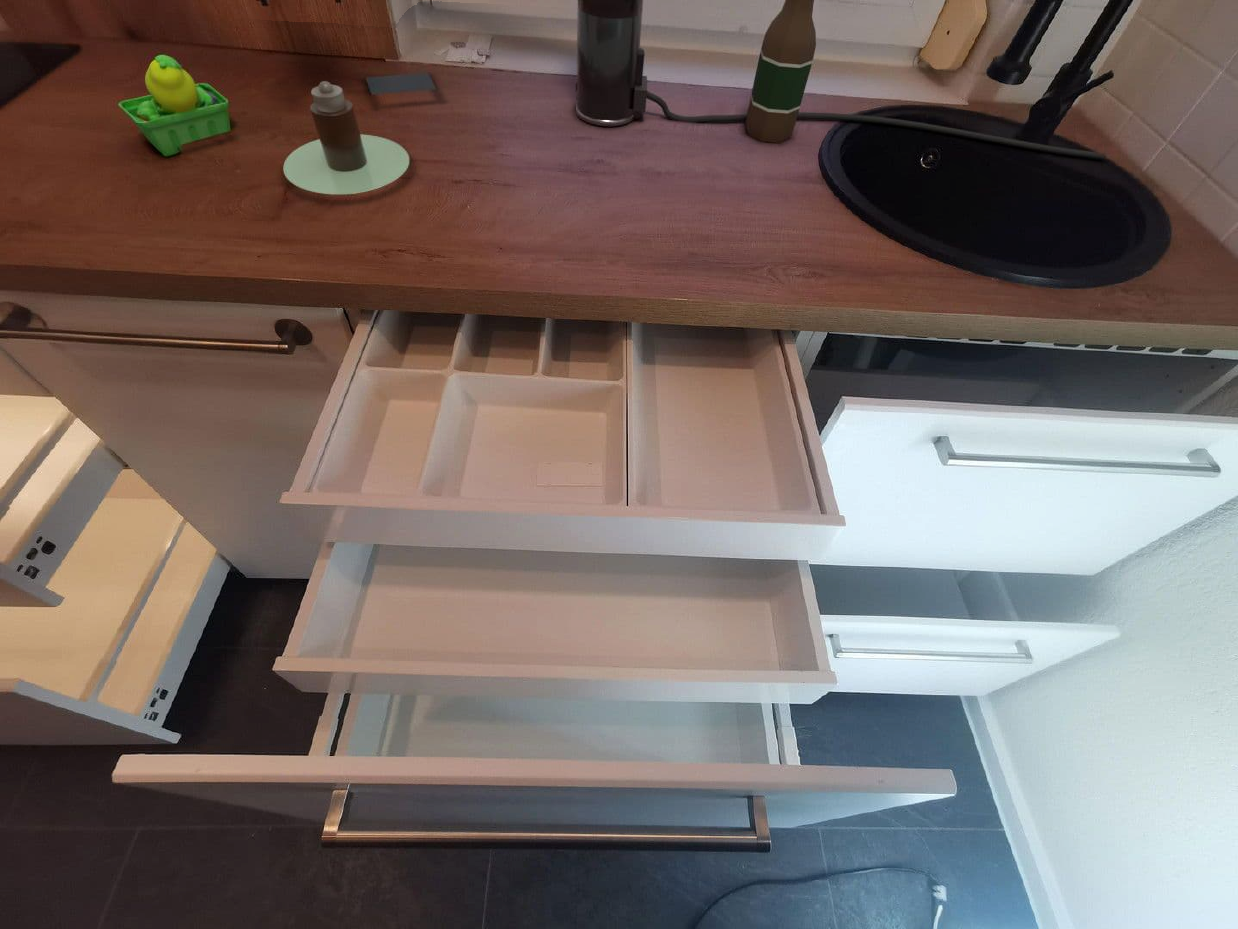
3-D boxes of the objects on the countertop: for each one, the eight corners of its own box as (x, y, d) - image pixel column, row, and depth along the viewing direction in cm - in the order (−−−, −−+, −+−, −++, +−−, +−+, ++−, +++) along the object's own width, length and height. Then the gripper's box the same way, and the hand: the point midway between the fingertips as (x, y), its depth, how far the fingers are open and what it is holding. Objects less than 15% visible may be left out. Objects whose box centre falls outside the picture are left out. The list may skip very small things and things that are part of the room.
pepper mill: (364, 151, 84) (343, 71, 76) (369, 168, 82) (348, 88, 74) (325, 155, 83) (300, 74, 75) (329, 173, 80) (303, 92, 72)
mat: (428, 76, 103) (428, 72, 102) (441, 101, 97) (440, 97, 97) (366, 81, 100) (365, 77, 100) (375, 108, 95) (374, 104, 94)
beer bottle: (797, 128, 99) (851, -63, 80) (784, 148, 95) (838, -49, 76) (751, 116, 101) (793, -74, 82) (736, 135, 97) (777, -61, 77)
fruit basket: (221, 119, 90) (182, 28, 81) (249, 142, 86) (212, 50, 77) (137, 141, 84) (86, 47, 75) (163, 168, 81) (113, 72, 72)
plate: (400, 136, 90) (398, 128, 89) (421, 193, 81) (419, 184, 80) (282, 150, 85) (278, 141, 84) (291, 210, 77) (287, 201, 76)
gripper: (182, -178, 68) (229, -17, 71) (319, -175, 72) (359, -22, 75) (204, -124, 75) (247, 21, 78) (328, -123, 79) (364, 15, 82)
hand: (301, 0), depth 76 cm, fingers open, 8 cm apart
